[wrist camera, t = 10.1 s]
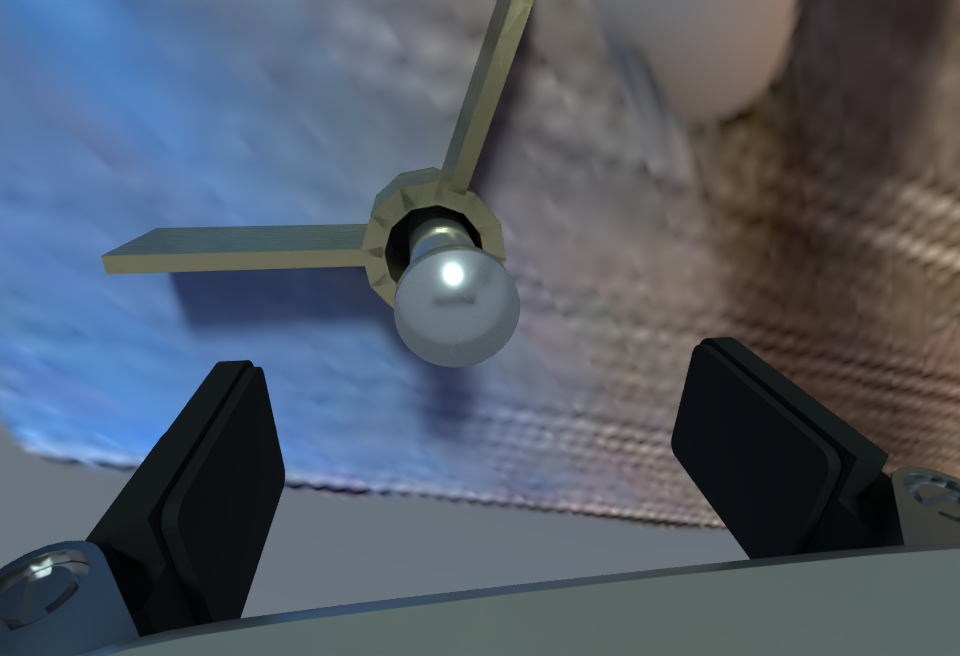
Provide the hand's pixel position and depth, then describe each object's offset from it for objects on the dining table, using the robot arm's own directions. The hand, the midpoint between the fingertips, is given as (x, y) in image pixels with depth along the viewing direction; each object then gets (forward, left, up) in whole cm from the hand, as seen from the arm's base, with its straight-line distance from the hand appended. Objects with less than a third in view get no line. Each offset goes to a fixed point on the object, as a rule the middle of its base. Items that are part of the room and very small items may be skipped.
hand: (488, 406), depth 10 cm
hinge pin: (0, 0, -18) cm, 18 cm away
